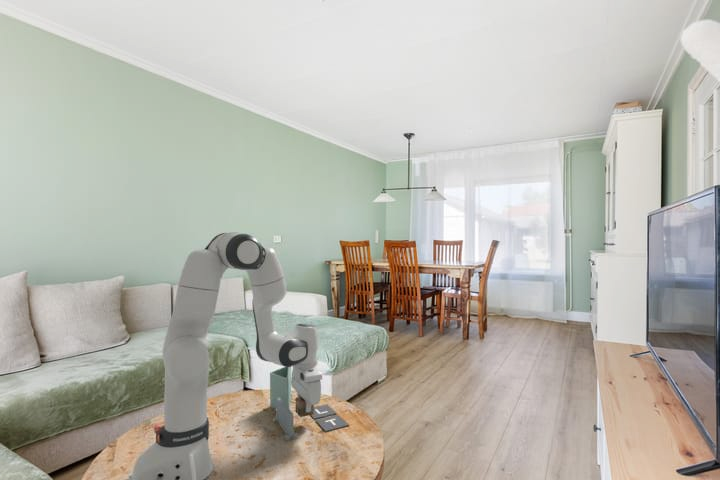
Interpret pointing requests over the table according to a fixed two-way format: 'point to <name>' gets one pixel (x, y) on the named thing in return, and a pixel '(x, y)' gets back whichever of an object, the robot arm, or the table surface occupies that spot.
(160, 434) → the robot arm
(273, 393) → the planter
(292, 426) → the screen
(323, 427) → the pad
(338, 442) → the table surface
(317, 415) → the pad
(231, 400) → the table surface
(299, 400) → the cube
